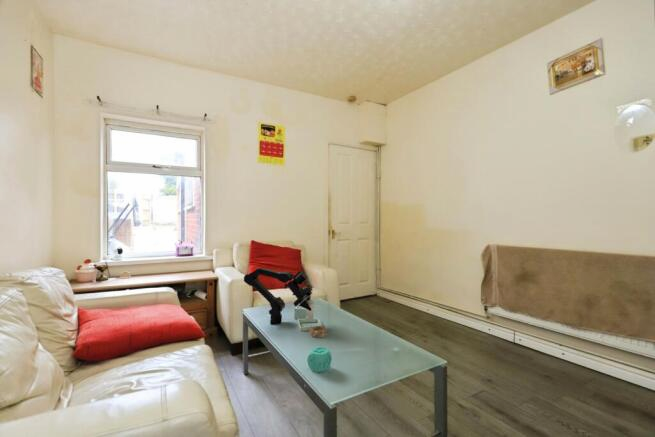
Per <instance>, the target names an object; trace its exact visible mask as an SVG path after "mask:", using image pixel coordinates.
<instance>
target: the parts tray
mask: <svg viewBox="0 0 655 437" xmlns="http://www.w3.org/2000/svg"><path fill="white" fill-rule="evenodd" d="M296 323H297V326H298V330H299V332H300V331H301V332H302V331H307V332H308V331H310V326H311V325H309V326H301V324H302V323H317V324H318V326H323V324H322V323H321V320H320V319H319V318H314V317H313V319H312V320H307V319H296Z"/></svg>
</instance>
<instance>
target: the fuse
mask: <svg viewBox="0 0 655 437" xmlns="http://www.w3.org/2000/svg"><path fill="white" fill-rule="evenodd" d="M307 303H308V304H309V306H310V308H311V309H312V310H311V311H310V310H308V309H307V314H306V319H307V320H312V319H313V318H314V308H313V307H314V303H315V300H313V299H311V300H307Z"/></svg>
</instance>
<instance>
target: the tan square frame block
mask: <svg viewBox="0 0 655 437" xmlns="http://www.w3.org/2000/svg"><path fill="white" fill-rule="evenodd" d="M309 326H310V330H309V333H310V334H309V335H310V336H311V338H321V337H322V338H325V337H328V331H327V329H326V327H325V325H323V324H322V326H319V325H309Z"/></svg>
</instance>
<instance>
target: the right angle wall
mask: <svg viewBox="0 0 655 437" xmlns="http://www.w3.org/2000/svg"><path fill="white" fill-rule="evenodd" d="M299 305H300V304H298V306H296V307H295V306H294V316H293V317H294V319H293V320H297V319H306V314H307V309H305V308H303V307H302V308H301V307H299Z"/></svg>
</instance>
